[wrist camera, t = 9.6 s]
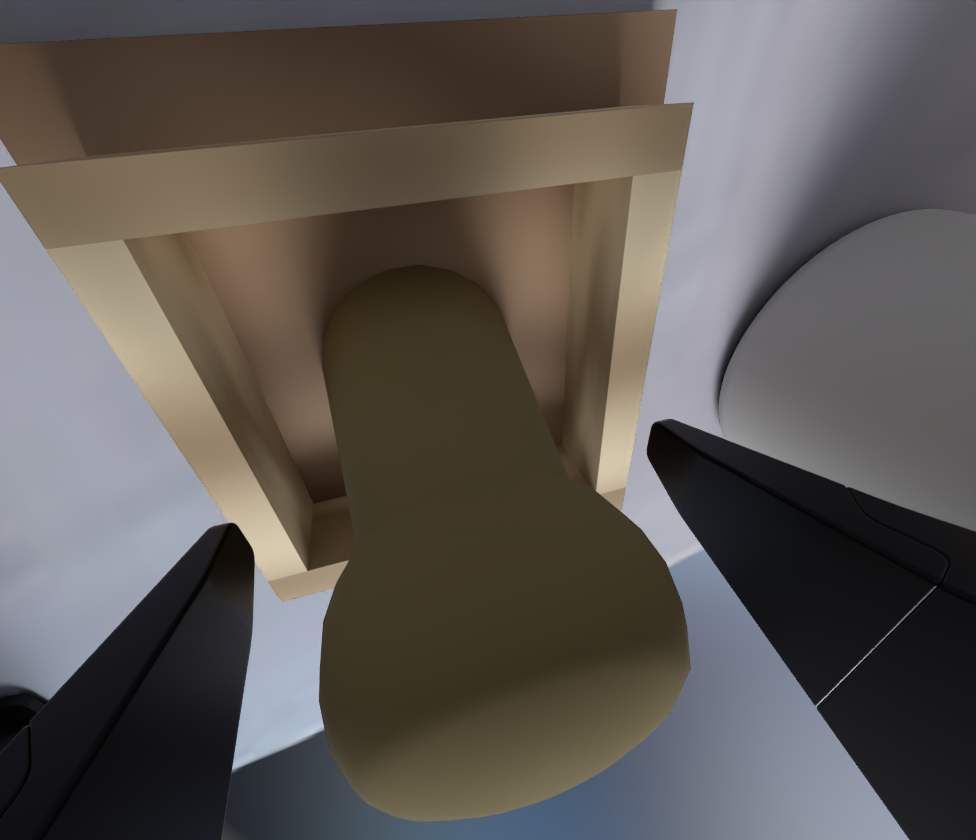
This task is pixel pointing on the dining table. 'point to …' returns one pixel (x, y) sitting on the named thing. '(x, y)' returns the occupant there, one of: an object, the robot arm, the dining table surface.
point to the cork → (476, 571)
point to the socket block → (351, 227)
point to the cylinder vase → (870, 366)
